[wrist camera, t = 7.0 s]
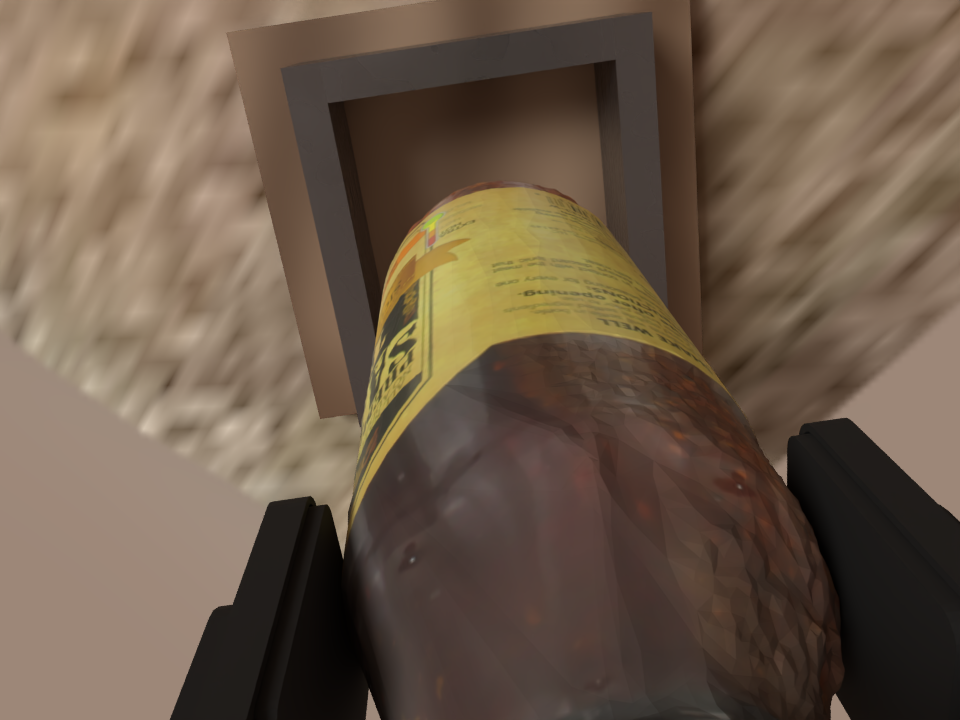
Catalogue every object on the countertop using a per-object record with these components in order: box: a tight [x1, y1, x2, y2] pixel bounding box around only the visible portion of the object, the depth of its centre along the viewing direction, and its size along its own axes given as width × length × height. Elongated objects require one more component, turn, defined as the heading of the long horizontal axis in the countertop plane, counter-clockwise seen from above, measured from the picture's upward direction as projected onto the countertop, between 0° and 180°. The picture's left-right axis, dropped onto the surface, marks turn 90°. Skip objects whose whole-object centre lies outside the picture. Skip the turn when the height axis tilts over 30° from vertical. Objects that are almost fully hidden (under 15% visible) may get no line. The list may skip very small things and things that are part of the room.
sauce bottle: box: [341, 180, 845, 720], centre depth 13 cm, size 7×6×20 cm
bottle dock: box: [227, 0, 703, 427], centre depth 30 cm, size 16×15×6 cm
